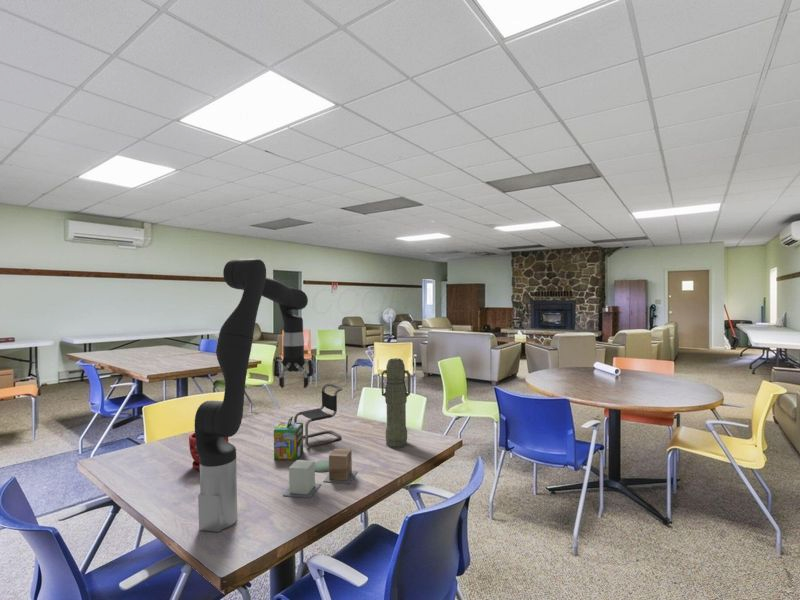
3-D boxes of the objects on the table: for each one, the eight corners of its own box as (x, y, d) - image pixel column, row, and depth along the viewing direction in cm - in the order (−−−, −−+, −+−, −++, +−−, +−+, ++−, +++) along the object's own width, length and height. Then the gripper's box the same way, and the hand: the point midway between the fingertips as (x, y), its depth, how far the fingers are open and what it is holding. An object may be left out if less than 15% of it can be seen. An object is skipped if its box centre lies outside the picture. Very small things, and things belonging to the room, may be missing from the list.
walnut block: (346, 480, 138) (346, 456, 137) (329, 479, 139) (328, 455, 139) (351, 472, 144) (351, 449, 143) (335, 471, 145) (334, 448, 144)
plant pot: (236, 459, 157) (235, 428, 157) (211, 474, 144) (211, 440, 144) (207, 456, 161) (206, 425, 160) (181, 470, 148) (180, 437, 148)
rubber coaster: (330, 472, 144) (330, 471, 144) (306, 471, 146) (306, 470, 146) (339, 462, 153) (339, 461, 153) (316, 460, 155) (316, 459, 155)
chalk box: (281, 450, 165) (280, 413, 165) (304, 450, 165) (303, 413, 165) (273, 460, 156) (272, 421, 156) (297, 460, 156) (296, 421, 156)
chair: (344, 439, 177) (343, 388, 177) (306, 448, 167) (305, 394, 167) (330, 431, 188) (330, 382, 188) (294, 439, 178) (293, 388, 177)
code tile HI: (310, 498, 127) (310, 497, 127) (282, 495, 128) (282, 494, 128) (321, 484, 136) (321, 483, 136) (295, 482, 137) (295, 481, 137)
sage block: (307, 494, 128) (307, 468, 128) (289, 492, 130) (289, 467, 129) (315, 485, 134) (314, 460, 134) (297, 484, 135) (297, 459, 135)
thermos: (411, 447, 167) (410, 360, 166) (382, 448, 167) (381, 361, 166) (410, 439, 176) (409, 357, 175) (382, 440, 175) (381, 357, 175)
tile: (349, 483, 136) (349, 482, 136) (323, 481, 138) (323, 480, 138) (357, 472, 145) (357, 471, 145) (332, 470, 146) (332, 469, 146)
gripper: (271, 345, 152) (272, 389, 152) (310, 345, 152) (311, 389, 152) (277, 343, 159) (277, 385, 159) (314, 342, 159) (315, 385, 159)
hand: (294, 387), depth 156 cm, fingers open, 8 cm apart
